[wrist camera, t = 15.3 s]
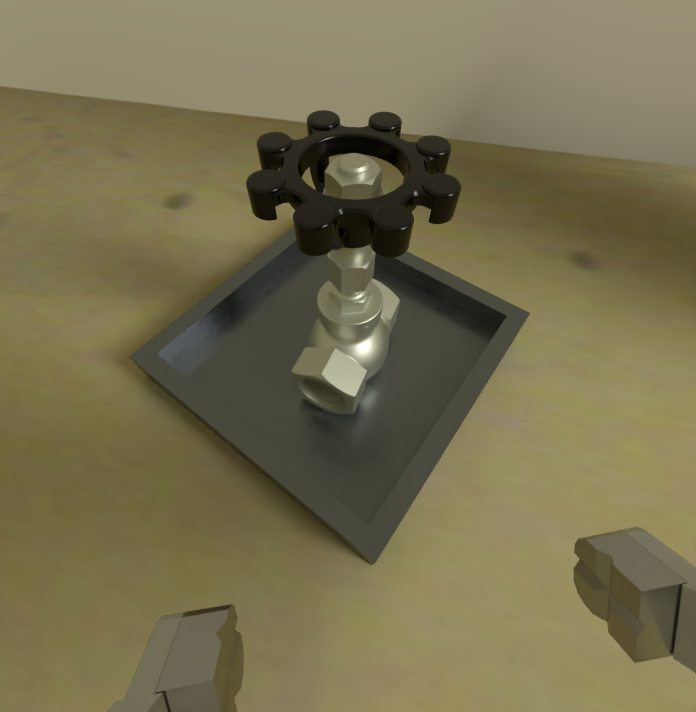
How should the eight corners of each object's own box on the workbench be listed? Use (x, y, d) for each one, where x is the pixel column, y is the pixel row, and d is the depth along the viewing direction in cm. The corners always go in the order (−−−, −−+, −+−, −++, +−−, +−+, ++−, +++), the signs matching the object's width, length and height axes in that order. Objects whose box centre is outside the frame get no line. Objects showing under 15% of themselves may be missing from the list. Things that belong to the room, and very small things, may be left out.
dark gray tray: (320, 230, 28) (318, 207, 27) (516, 333, 23) (529, 313, 22) (146, 375, 21) (129, 356, 20) (371, 565, 16) (375, 563, 15)
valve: (269, 390, 20) (197, 194, 10) (321, 305, 24) (305, 92, 13) (381, 436, 19) (427, 264, 9) (419, 339, 22) (485, 132, 12)
